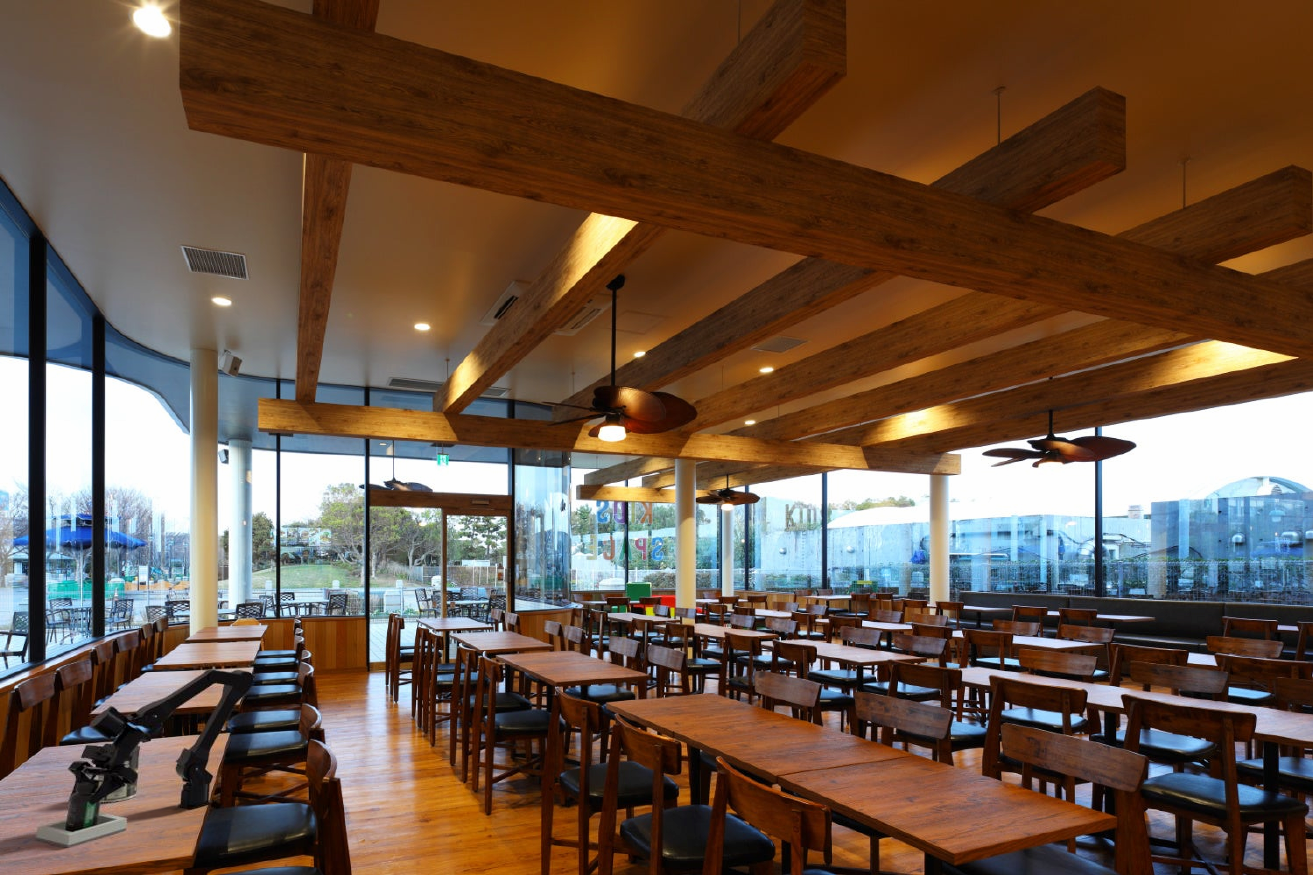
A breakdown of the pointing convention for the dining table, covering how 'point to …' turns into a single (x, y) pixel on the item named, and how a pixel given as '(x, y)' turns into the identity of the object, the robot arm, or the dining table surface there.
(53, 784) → the dining table surface
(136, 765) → the coffee can
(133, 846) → the dining table surface
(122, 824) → the tray
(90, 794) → the supplement bottle
